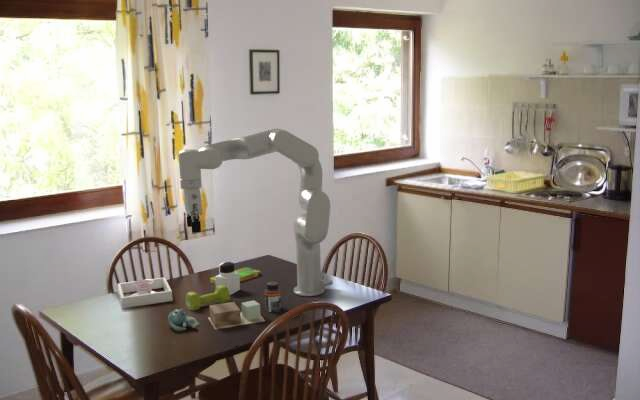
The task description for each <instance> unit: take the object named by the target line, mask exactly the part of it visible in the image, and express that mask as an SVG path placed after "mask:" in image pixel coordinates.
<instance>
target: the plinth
mask: <svg viewBox="0 0 640 400" xmlns="http://www.w3.org/2000/svg"><path fill="white" fill-rule="evenodd" d="M208 308H209V317H207V319H208V320H209V323H211V326H212V327H213V328H214V330H219V329H221V330H222V329H226V328H232V327H237V326H239V327H240V326H244V325H249V324H257V323H263V322H266V320H265V319H264V317H263V316H262V315H261V318H256V319H252V320H247V319H245V318H244V317H242V311H241V309H240V308H239V306H238V305H237V304H236V303H235V301H228V302H225V303H218V304H210V305H209V306H208Z"/></svg>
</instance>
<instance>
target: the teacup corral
mask: <svg viewBox="0 0 640 400" xmlns="http://www.w3.org/2000/svg"><path fill="white" fill-rule="evenodd" d="M150 280H153V281H154V283H153V287H152V289H151V290H156V289H161V288H163V290H164V291H155V292H156V293H149V294H142V295H135V296H129V295H128V296H125V295H124V294H126V293H134V292H135V293H136V292H137V289H136V287H134V285H133V283H134V282H136V281H137V280H134V281H128V282H126V281H125V282H121V283H117V293H118V297H119V300H120V304H121V309H125V308H133V307H139V306H146V305H153V304H160V303H166V302H173V301H174V300H173V290H172V289H171V287H170V285H169V283H168V281H167V279H166V277H159V278H150Z"/></svg>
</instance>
